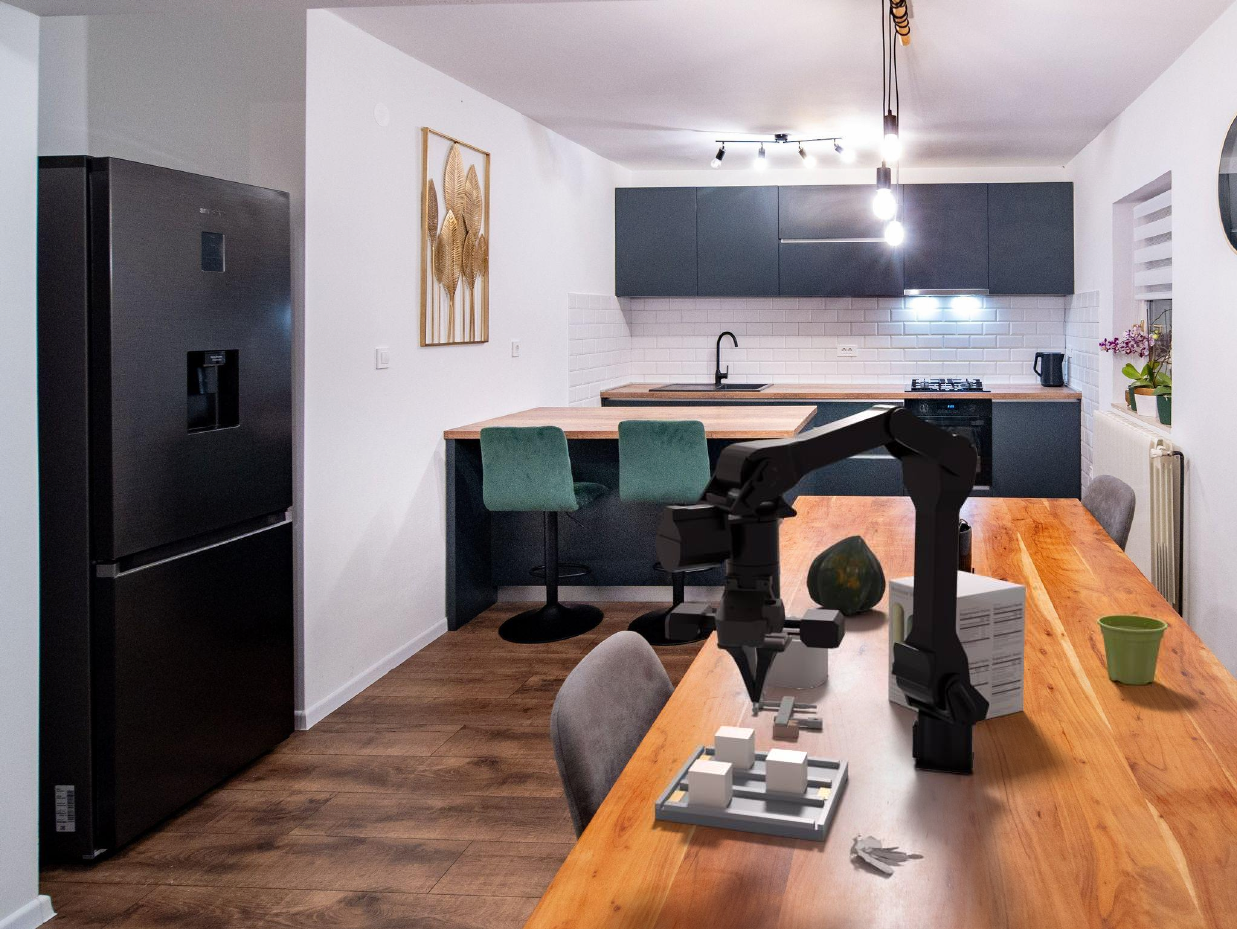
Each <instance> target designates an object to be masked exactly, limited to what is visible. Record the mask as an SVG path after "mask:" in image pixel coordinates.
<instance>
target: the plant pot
mask: <svg viewBox="0 0 1237 929" xmlns="http://www.w3.org/2000/svg"><path fill="white" fill-rule="evenodd" d="M1096 623H1097V625H1098V626H1099V628H1100V632H1101V635H1102V638H1103V639H1102V640H1103V645H1104V652H1105V658H1106V659H1105V661H1106V668H1107V676H1108V678H1109V679H1110V680H1112V681H1119V682H1120V683H1122V684H1125V685H1133V686H1134V685H1138V686H1142V685H1147V683H1154V682H1155V675H1156V669H1157V663H1158V658H1159V652H1160V647H1161V642H1162V639H1163V638H1164V636H1165V631H1166V630H1167V629H1168V624H1167V623H1166V622H1165V621H1163V620H1161V619H1158V618H1155V617H1154V618H1153V617H1149V616H1142V615H1134V614H1133V615H1132V614H1111V615H1109V614H1108V615H1104V616H1100V617H1099V618H1097V619H1096Z"/></svg>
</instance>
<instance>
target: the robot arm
mask: <svg viewBox="0 0 1237 929" xmlns="http://www.w3.org/2000/svg"><path fill="white" fill-rule="evenodd" d="M880 447H882V449H883V450H884V451H885V452H886V453H887V454H888V455H890V456H891V457H893V459H895V460H897V461H898V462H900V463H901V470H902V479H903V485H904V487H905V489H906V492H907V494H908V495H909V498H910V500H911V502H912V504H913V506H914V510H915V512H914V513H915V514H914V515H915V517H914V518H915V521H914V524H915V525H914V556H913V559H914V560H913V576H914V589H913V625H912V630H911V631H910V633H909V634H908V636H907V638H906V639H905V641H904V642H895V643H894V646H893V652H894V666H893V669H892V672H891V674H892V675H895V676H896V683H897V686H898V688H900V689H901V690H902V692H903V693H904V695H905V698H906V702H907V705H909V706H911V707H915V708H917V709H919V711H918V712H917V718H914V720H913V723H912V735H911V736H912V738H911V742H912V743H911V744H912V747H911V749H912V750H911V753H912V754H911V755H912V756H911V757H912V758H913V759H915V763H914V768H916V769H917V770H926V771H935V772H943V773H952V774H953V773H955V774H961V775H962V774H963V775H972V774H973V772H974V763H975V752H974V726H976V725H977V723H979V722H984V721H985V720H987V719H986V715H987V712H988V708H989V702H988V701H987V700H986V699H985V698H984V697H983V696H982V695H981V694H980V693H979V692H978V691H977V689H976V688H975V687H974V686H973V685H972V684H971V681H970V672H969V663H968V657H967V655H966V652H965V650H964V648H963V646H962V644H961V642H960V639H959V637H958V635H957V632H956V612H957V578H958V571H959V545H960V544H959V542H960V541H959V538H960V537H959V536H960V513H961V509H962V508H963V506H964V504H965V503H966V501H967V499H968V498H969V497H970V494H971V493H972V492H973V489H974V485H975V479H976V474H977V469H978V461H979V458H978V457H979V456H978V450H977V447H976V445H974V444H973V443H972V442H971V441H970V440H969V438H967V437H966V436H964V435H959V434H952V433H951V432H950V431H949V430H946V429H944V428H941V427H940V426H938V425H936V424H933V423H932V422H929V421H927V420H925V419H923V418H922V417H919V416H918V415H916V414H915V413H913V412H912V411H910V410H909V409H907V408H906V407H905V406H902V405H892V404H874V405H873V406H872V407H869V408H868V409H867V410H864V411H862V412H859V413H855V414H853V415H850V416H848V417H847V416H846V417H844V418H842V419H838V420H836V421H833V422H832V421H831V422H830V423H827V424H824V425H822V426H818V427H815V428H813V429H810V430H807V431H804V432H800V433H798V434H796V435H793V436H789V437H785V438H776V439H775V438H774V439H773V438H772V439H760V440H753V441H745V442H736V443H733V444H729V445H728V446H726V447H725V448H723V449H722V450H721V451H720V453H719V454H720V455H719V457H718V459H717V462H716V467H715V470H714V472H713V474H712V476H711V477H710V478H709V481H708V483H707V484H706V486H705V487H704V489H703V490H702V493H700V495H699V497H698V499H697V501H696V504H695V505H688V506H687V505H685V506H680V505H667V506H665V507H664V509H663V510H664V518H663V519H662V520H661V521H660V523H659V524H658V525H659V526H658V529H657V534H656V535H655V548H656V554H657V557H658V561H659V562H660V565H661V566H662V568H663V569H664V571H666V572H667V573H669V574H670V573H678V572H685V571H691V570H693V571H694V570H699V569H700V570H701V569H707V568H714V567H715V568H716V567H721V566H722V565H723V564H724V562H725V561H726V562H725V563H726V564H725V565H726V574H725V575H724V590H723V593H722V595H721V599H720V601H719V603H718V606H717V609H716V611H715V612H714V613H713V608H712V605H711V604H710V603H708V604H707V603H691V602H690V603H688V602H681V603H680V604H679V605H677V606H676V607H675V608H674V609H673V610H672V611H671V612H669V613H668V614H667V615H666V617H665V621H664V630H665V632H664V634H665V639H668V640H678V641H690V642H691V641H693V640H694V639H695V638H696V637H697V636H698V635H699V634H700V632H701V631H707V632H709V631H710V632H711V631H712V632H716V635H717V636H716V637H717V643H716V647H717V648H718V650H724V651H726V652H727V653H728V654H729V655H730V656H731V657H732V659H733V660H734V662H735V664H736V666H737V668H738V670H739V673H740V675H741V678H742V681H743V683H744V686H745V688H746V692H747V693H748V697H749V700H750V702H751V703H752V704H753V703H755V702H756V703H759V702H760V700H761V698H762V699H763V697H762V694H763V691H764V692H765V688H766V686H767V685H766V682H767V679H768V676H769V673H770V670H771V667H772V664H773V661H774V659H775V657H776V655H777V653H781V652H784V651H785V650H786V648H787V647H788V645H789V644H790V642H791V641H792V635H796V636H800V640H801V641H802V642H803V643H804V644H805V645H806V646H807V647H809V648H826V649H828V650H830V649H831V650H834V649H837V648H840V645H841V644H842V641H843V640H844V637H845V635H846V620H845V616H844V615H843V612H842V613H841V612H840V611H839V610H825V609H818V608H807V610H806V611H805V612H804V614H803V616H802V617H797V618H794V617H785V616H786V609H785V604H784V602H783V599H782V598H781V565H780V564H781V562H780V561H781V557H780V556H781V555H780V520H781V519H789V518H795V517H796V516H798V512H797V510H796V509H795V508H793V507H792V506H791V505H789V503H788V502H786V500H785V499H784V497H783V496H782V495H783V494H785V493H787V492H788V491H790V490H792V489H794V488H795V487H797V486H798V484H799V483H800V482H801V481H802V479H803V478H805V477H806V476H807V475H809V474H810V473H812V472H814V471H817V470H819V469H822V468H825V467H827V466H831V465H833V464H837V463H839V462H841V461H844V460H847V459H850V458H852V457H855V456H858V455H861V454H864V453H866V452H869V451H872V450H874V449H877V448H880ZM729 495H730V496H729ZM731 496H734V497H731ZM755 647H756V654H757V666H756V655H755Z"/></svg>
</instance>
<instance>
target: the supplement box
mask: <svg viewBox="0 0 1237 929" xmlns="http://www.w3.org/2000/svg"><path fill="white" fill-rule="evenodd" d="M913 589H914V575H912V576H905V577H899V578H893V579H889V580H888V678H887V679H888V685H887V686H888V688H887V689H888V690H887V691H888V693H887V694H888V697H887V698H888V701H891V702H893V703H895V704H898V705H901V706H903V707H905V708H907V709H910V710H913V711H915V712H917V713H918V711H919V709H917V708H915V707H911V706H909V705H907V702H906V698H905V695H904V693H903V692H902V690H901V689H900V688H898V686H897V683H896V676H895V675H892V674H891V672H892V669H893V666H894V652H893V646H894V643H895V642H904V641H905V639H906V638H907V636H908V634H909V633H910V631H911V630H912V625H913ZM1026 591H1027V587H1026V586H1025V585H1024V584H1019V583H1013V582H1009V581H1006V580H1000V579H996V578H993V577H990V576H987V575H986V576H984V575H980V574H976V573H971V572H967V571H962V570H958V578H957V612H956V632H957V635H958V637H959V639H960V642H961V644H962V646H963V648H964V650H965V652H966V655H967V657H968V663H969V672H970V681H971V684H972V685H973V686H974V687H975V688H976V689H977V691H978V692H979V693H980V694H981V695H982V696H983V697H984V698H985V699H986V700H987V701H988V702H989V708H988V712H987V715H986V719H985V720H988V719H992V718H996V717H1001V716H1006V715H1010V714H1014V713H1018V712H1023V711H1024V687H1025V686H1024V683H1025V681H1024V679H1025V678H1024V677H1025V634H1026V631H1025V628H1026V627H1025V626H1026V594H1027V593H1026Z"/></svg>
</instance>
